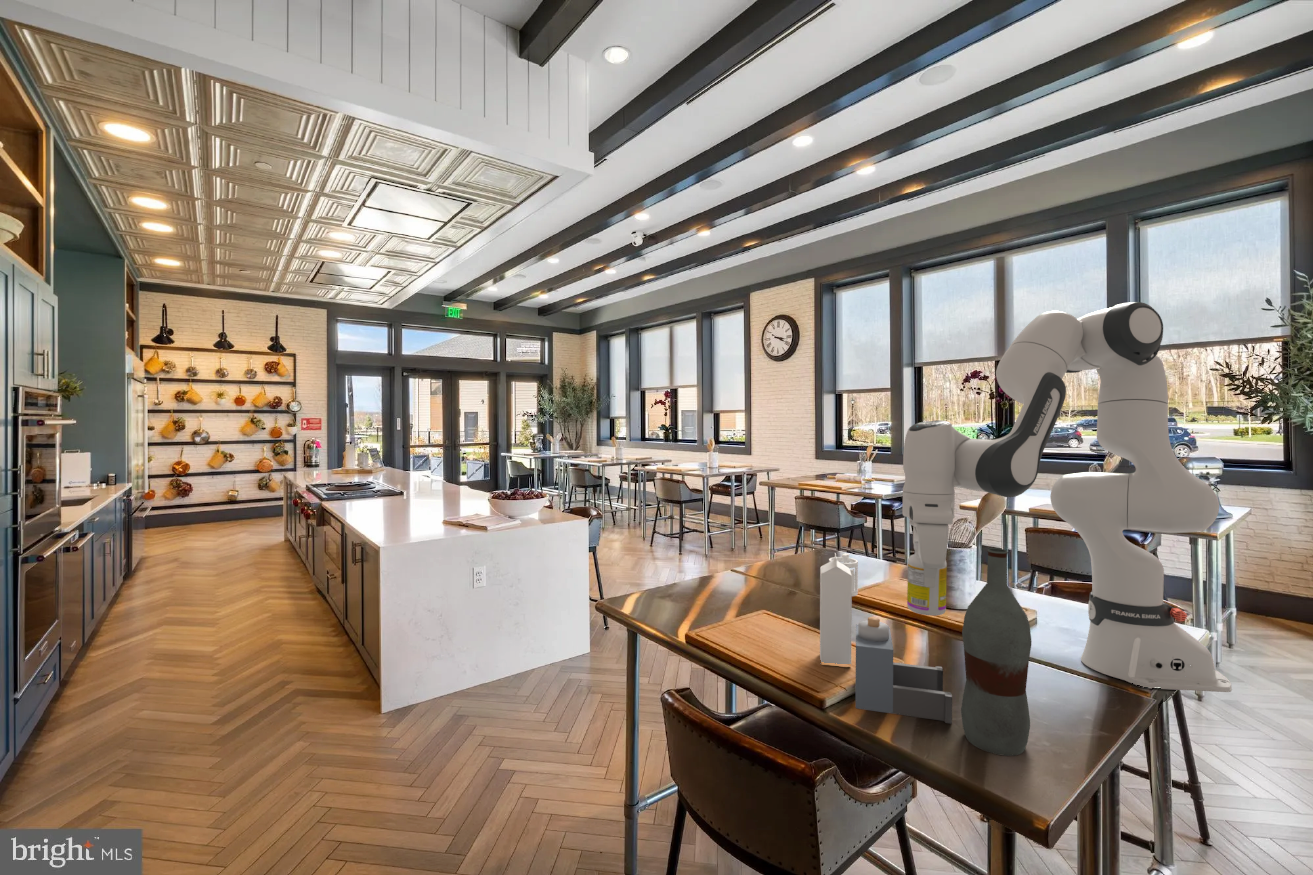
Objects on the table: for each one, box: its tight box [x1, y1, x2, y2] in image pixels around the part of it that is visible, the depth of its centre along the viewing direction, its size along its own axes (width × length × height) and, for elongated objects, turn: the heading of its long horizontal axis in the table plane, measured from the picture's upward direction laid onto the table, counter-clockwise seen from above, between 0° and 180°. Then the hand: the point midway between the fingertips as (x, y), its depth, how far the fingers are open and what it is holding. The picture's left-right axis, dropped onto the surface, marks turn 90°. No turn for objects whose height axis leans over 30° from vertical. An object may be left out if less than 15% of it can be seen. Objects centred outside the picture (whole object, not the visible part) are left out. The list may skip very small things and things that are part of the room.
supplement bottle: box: [906, 541, 948, 616], centre depth 111 cm, size 7×7×13 cm
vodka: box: [960, 547, 1032, 757], centre depth 91 cm, size 9×9×30 cm
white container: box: [828, 553, 859, 597], centre depth 151 cm, size 7×7×15 cm
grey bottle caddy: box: [855, 616, 953, 725], centre depth 106 cm, size 15×15×14 cm
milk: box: [819, 552, 853, 665], centre depth 122 cm, size 6×6×22 cm
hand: (927, 581), depth 111 cm, fingers closed on supplement bottle, 6 cm apart
